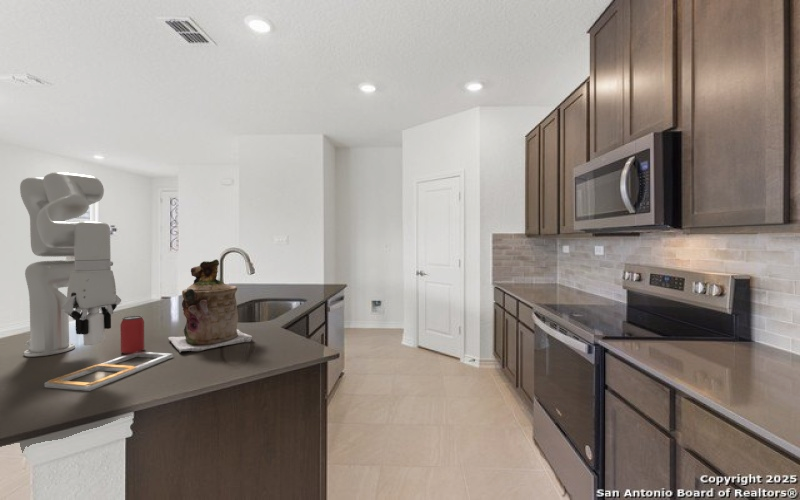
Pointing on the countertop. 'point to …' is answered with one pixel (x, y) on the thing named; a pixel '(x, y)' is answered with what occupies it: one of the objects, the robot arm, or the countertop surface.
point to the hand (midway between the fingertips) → (94, 330)
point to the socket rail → (106, 366)
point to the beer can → (132, 334)
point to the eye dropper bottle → (94, 327)
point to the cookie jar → (209, 312)
